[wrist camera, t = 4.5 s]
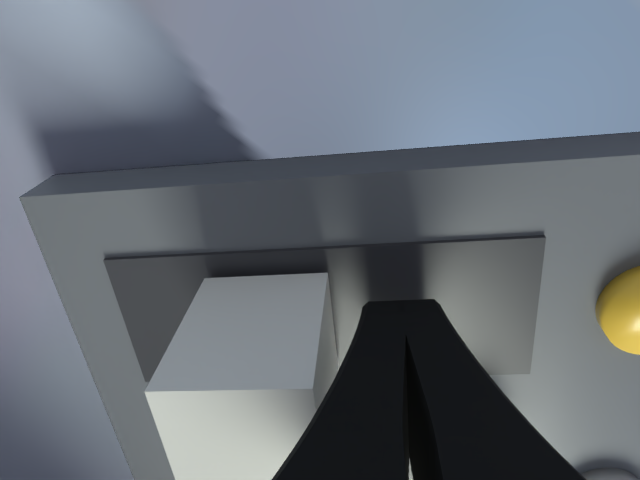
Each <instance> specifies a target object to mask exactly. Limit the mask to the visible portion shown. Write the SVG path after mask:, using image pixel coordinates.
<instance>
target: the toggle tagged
mask: <svg viewBox="0 0 640 480" xmlns="http://www.w3.org/2000/svg"><path fill="white" fill-rule="evenodd" d="M338 370H339V368H338V359H337V350H336V342H335V333H334V324H333V315H332V306H331V297H330V288H329V279H328V273H308V274H286V275H264V276H242V277H220V278H204V280H203V282H202V284H201V286H200V288H199V290H198V291H197V293H196V295H195V297H194V299H193V301H192V303H191V305H190V307H189V308H188V310H187V312H186V314H185V316H184V318H183V320H182V322H181V324H180V325H179V327H178V329H177V331H176V333H175V335H174V337H173V339H172V341H171V342H170V344H169V346H168V348H167V350H166V352H165V354H164V356H163V358H162V359H161V361H160V363H159V365H158V367H157V369H156V371H155V373H154V374H153V376H152V378H151V380H150V382H149V384H148V386H147V388H146V390H145V391H144V392H145V395H146V398H147V401H148V404H149V406H150V409H151V412H152V415H153V418H154V421H155V423H156V426H157V429H158V432H159V435H160V438H161V440H162V443H163V446H164V449H165V452H166V455H167V458H168V460H169V463H170V466H171V469H172V472H173V475H174V477H175V480H272V478H273V477H274V475H275V474H276V473H277V471H278V470H279V468H280V467H281V466H282V464H283V463H284V461H285V460H286V458H287V457H288V455H289V454H290V453H291V451H292V450H293V448H294V447H295V445H296V444H297V442H298V441H299V439H300V437H301V436H302V434H303V433H304V431H305V430H306V428H307V426H308V425H309V423H310V422H311V420H312V418H313V416H314V415H315V413H316V411H317V409H318V408H319V406H320V404H321V402H322V401H323V399H324V397H325V395H326V394H327V392H328V390H329V388H330V386H331V384H332V383H333V381H334V379H335V377H336V374H337V372H338Z"/></svg>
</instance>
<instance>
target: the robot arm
mask: <svg viewBox="0 0 640 480" xmlns="http://www.w3.org/2000/svg"><path fill="white" fill-rule="evenodd" d="M409 459H410V464H411V470H412V475H413V480H586V479H585V478H584V477H583V476H582V475H581V474H580V473H579V472H578V471H577V470H576V469H575V468H574V467H573V466H572V465H571V464H570V463H569V462H568V461H567V460H566V459H565V458H564V457H563V456H562V455H560V454H559V453H558V452H557V450H556V449H555V448H554V447H553V446H552V445H551V444H550V443H549V442H548V441H547V440H546V439H545V438H544V437H543V436H542V435H541V434H540V433H539V432H538V431H537V430H536V429H535V428H534V427H533V425H532V424H531V423H530V422H529V421H528V420H527V419H526V418H525V417H524V415H523V414H522V413H521V412H520V411H519V410H518V409H517V408H516V407H515V405H514V404H513V403H512V402H511V401H510V400H509V399H508V397H507V396H506V395H505V394H504V393H503V391H502V390H501V389H500V388H499V387H498V386H497V384H496V383H495V382H494V381H493V379H492V378H491V377H490V375H489V374H488V373H487V372H486V370H485V369H484V368H483V367H482V365H481V364H480V363H479V362H478V360H477V359H476V358H475V356H474V355H473V354H472V352H471V351H470V350H469V348H468V347H467V346H466V344H465V343H464V341H463V340H462V338H461V337H460V336H459V334H458V333H457V331H456V330H455V328H454V327H453V325H452V324H451V322H450V320H449V319H448V317H447V316H446V314H445V312H444V310H443V309H442V307H441V305H440V304H439V303H438V302H437V301H436V300H435V299H420V300H393V301H368V302H367V303H366V304H365V305H364V306H363V307H362V312H361V316H360V319H359V323H358V326H357V329H356V332H355V334H354V337H353V339H352V342H351V344H350V347H349V349H348V351H347V353H346V356H345V358H344V360H343V362H342V364H341V366H340V368H339V370H338V372H337V374H336V377H335V379H334V381H333V383H332V384H331V386H330V388H329V390H328V392H327V394H326V395H325V397H324V399H323V401H322V402H321V404H320V406H319V408H318V409H317V411H316V413H315V415H314V416H313V418H312V420H311V422H310V423H309V425H308V426H307V428H306V430H305V431H304V433H303V434H302V436H301V437H300V439H299V441H298V442H297V444H296V445H295V447H294V448H293V450H292V451H291V453H290V454H289V455H288V457H287V458H286V460H285V461H284V463H283V464H282V466H281V467H280V468H279V470H278V471H277V473H276V474H275V475H274V477H273V478H272V480H409Z"/></svg>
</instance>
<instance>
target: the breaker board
mask: <svg viewBox="0 0 640 480" xmlns="http://www.w3.org/2000/svg"><path fill="white" fill-rule="evenodd" d="M19 198H20V201H21V203H22V205H23V208H24V210H25V213H26V215H27V218H28V220H29V223H30V225H31V228H32V230H33V232H34V235H35V237H36V240H37V242H38V245H39V247H40V250H41V252H42V254H43V257H44V259H45V262H46V264H47V267H48V269H49V272H50V274H51V277H52V279H53V281H54V284H55V286H56V289H57V291H58V294H59V296H60V299H61V301H62V303H63V306H64V308H65V311H66V313H67V316H68V318H69V321H70V323H71V326H72V328H73V330H74V333H75V335H76V338H77V340H78V343H79V345H80V348H81V350H82V352H83V355H84V357H85V360H86V362H87V365H88V367H89V370H90V372H91V375H92V377H93V379H94V382H95V384H96V387H97V389H98V392H99V394H100V397H101V399H102V401H103V404H104V406H105V409H106V411H107V414H108V416H109V419H110V421H111V424H112V426H113V428H114V431H115V433H116V436H117V438H118V441H119V443H120V446H121V448H122V450H123V453H124V455H125V458H126V460H127V463H128V465H129V468H130V470H131V473H132V475H133V477H134V480H175V477H174V475H173V472H172V469H171V466H170V463H169V460H168V458H167V455H166V452H165V449H164V446H163V443H162V440H161V438H160V435H159V432H158V429H157V426H156V423H155V421H154V418H153V415H152V412H151V409H150V406H149V404H148V401H147V398H146V395H145V392H144V391H145V390H146V388H147V386H148V384H149V382H150V380H151V378H152V376H153V374H154V373H155V371H156V369H157V367H158V365H159V363H160V361H161V359H162V358H163V356H164V354H165V352H166V350H167V348H168V346H169V344H170V342H171V341H172V339H173V337H174V335H175V333H176V331H177V329H178V327H179V325H180V324H181V322H182V320H183V318H184V316H185V314H186V312H187V310H188V308H189V307H190V305H191V303H192V301H193V299H194V297H195V295H196V293H197V291H198V290H199V288H200V286H201V284H202V282H203V280H204V278H220V277H242V276H264V275H286V274H308V273H328V279H329V288H330V297H331V306H332V315H333V324H334V333H335V342H336V350H337V359H338V368H340V366H341V364H342V362H343V360H344V358H345V356H346V353H347V351H348V349H349V347H350V344H351V342H352V339H353V337H354V334H355V332H356V329H357V326H358V323H359V319H360V316H361V312H362V307H363V306H364V305H365V304H366V303H367V302H368V301H393V300H420V299H435V300H436V301H437V302H438V303H439V304H440V305H441V307H442V309H443V310H444V312H445V314H446V316H447V317H448V319H449V320H450V322H451V324H452V325H453V327H454V328H455V330H456V331H457V333H458V334H459V336H460V337H461V338H462V340H463V341H464V343H465V344H466V346H467V347H468V348H469V350H470V351H471V352H472V354H473V355H474V356H475V358H476V359H477V360H478V362H479V363H480V364H481V365H482V367H483V368H484V369H485V370H486V372H487V373H488V374H489V375H490V377H491V378H492V379H493V381H494V382H495V383H496V384H497V386H498V387H499V388H500V389H501V390H502V391H503V393H504V394H505V395H506V396H507V397H508V399H509V400H510V401H511V402H512V403H513V404H514V405H515V407H516V408H517V409H518V410H519V411H520V412H521V413H522V414H523V415H524V417H525V418H526V419H527V420H528V421H529V422H530V423H531V424H532V425H533V427H534V428H535V429H536V430H537V431H538V432H539V433H540V434H541V435H542V436H543V437H544V438H545V439H546V440H547V441H548V442H549V443H550V444H551V445H552V446H553V447H554V448H555V449H556V450H557V452H558V453H559V454H560V455H562V456H563V457H564V458H565V459H566V460H567V461H568V462H569V463H570V464H571V465H572V466H573V467H574V468H575V469H576V470H577V471H578V472H579V473H580V474H581V475H582V476H583V477H584V478H585V479H586V480H640V132H632V133H618V134H604V135H590V136H577V137H563V138H549V139H536V140H523V141H509V142H495V143H482V144H468V145H454V146H442V147H427V148H414V149H401V150H387V151H373V152H360V153H346V154H333V155H320V156H305V157H293V158H278V159H265V160H251V161H237V162H224V163H210V164H197V165H183V166H170V167H156V168H142V169H129V170H115V171H102V172H88V173H75V174H61V175H53V176H51V177H50V178H48V179H47V180H45V181H44V182H42V183H41V184H39V185H37V186H36V187H34V188H33V189H31V190H30V191H28V192H27V193H25V194H24V195H22V196H20V197H19ZM409 480H413V475H412V470H411V464H410V459H409Z"/></svg>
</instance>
